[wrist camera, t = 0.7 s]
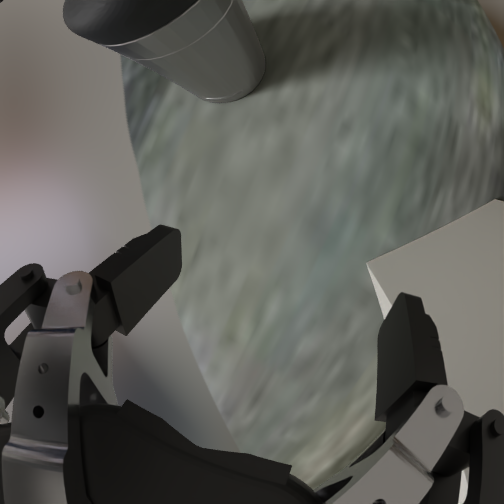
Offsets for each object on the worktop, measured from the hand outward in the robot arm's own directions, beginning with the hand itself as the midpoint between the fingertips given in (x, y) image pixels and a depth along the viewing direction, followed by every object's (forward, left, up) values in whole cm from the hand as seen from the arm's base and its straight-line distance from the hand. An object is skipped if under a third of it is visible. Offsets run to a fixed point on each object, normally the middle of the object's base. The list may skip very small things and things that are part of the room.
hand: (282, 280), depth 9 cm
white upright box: (+7, +18, -20) cm, 28 cm away
